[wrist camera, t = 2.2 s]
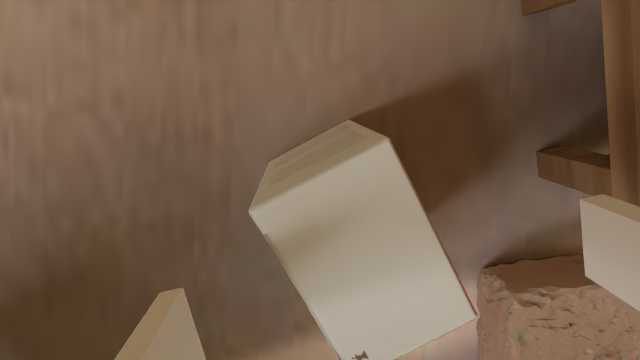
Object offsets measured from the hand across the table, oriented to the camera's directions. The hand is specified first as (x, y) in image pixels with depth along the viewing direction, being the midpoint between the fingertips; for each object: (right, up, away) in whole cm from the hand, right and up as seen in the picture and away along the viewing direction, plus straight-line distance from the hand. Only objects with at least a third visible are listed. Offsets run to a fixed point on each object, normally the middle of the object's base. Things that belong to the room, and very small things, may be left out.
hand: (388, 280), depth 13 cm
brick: (+13, -10, +15) cm, 22 cm away
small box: (-1, +2, +12) cm, 12 cm away
